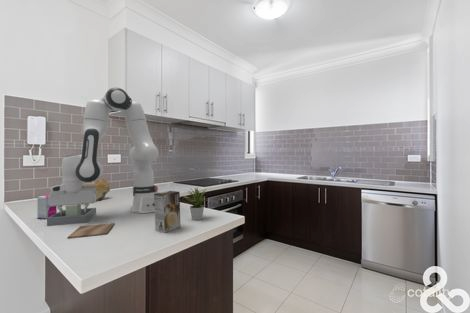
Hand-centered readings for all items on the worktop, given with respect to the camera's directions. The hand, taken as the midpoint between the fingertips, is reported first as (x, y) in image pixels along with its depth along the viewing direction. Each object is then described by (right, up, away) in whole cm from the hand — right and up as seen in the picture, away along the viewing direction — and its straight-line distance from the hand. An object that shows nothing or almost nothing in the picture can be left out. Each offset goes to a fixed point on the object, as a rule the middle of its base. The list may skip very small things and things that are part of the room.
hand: (73, 213), depth 114 cm
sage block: (0, -3, 0) cm, 3 cm away
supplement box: (-17, -4, +4) cm, 18 cm away
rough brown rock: (-22, -3, +47) cm, 52 cm away
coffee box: (+53, -3, -16) cm, 56 cm away
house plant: (+64, -3, 0) cm, 64 cm away
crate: (0, -3, 0) cm, 3 cm away
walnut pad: (+21, -3, -17) cm, 28 cm away
